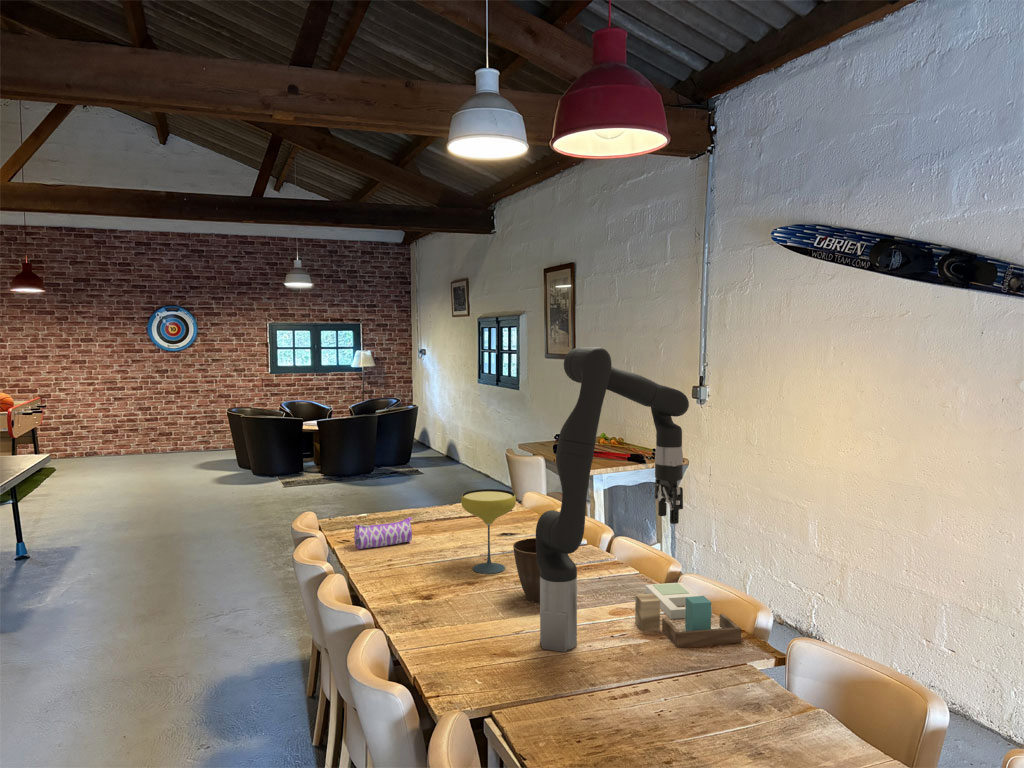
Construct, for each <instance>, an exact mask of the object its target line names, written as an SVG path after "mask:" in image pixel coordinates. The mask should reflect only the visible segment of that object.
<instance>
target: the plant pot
mask: <svg viewBox="0 0 1024 768" xmlns="http://www.w3.org/2000/svg"><path fill="white" fill-rule="evenodd" d="M512 548H513V554H514V560H515V561H514V562H515V566H516V570H517V574H518V575H517V576H518V578H519V582H520V585H521V588H522V590H523V593H524V596H525V599H526V600H527V601H529V602H531V603H534V604H535V603H538V604H540V569H539V567H538V564H537V556H536V537H535V538H534V537H533V538H532V537H531V538H524V539H519V540H517V541H515V543H513V545H512Z"/></svg>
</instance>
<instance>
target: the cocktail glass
mask: <svg viewBox="0 0 1024 768" xmlns="http://www.w3.org/2000/svg"><path fill="white" fill-rule="evenodd" d="M516 499H517V497H516V493H514V492H513V491H510V490H505V489H497V488H487V489H486V488H485V489H483V488H482V489H475V490H474V489H473V490H469V491H466V492H464V493H462V495H461V500H460V503H461V507H462V508H463V509H464V510H465V511H466V512H467V513H469V514H470V515H473V516H475V517H476V518H479V519H481V520H482V521H483V523H484V524H485V525H487V559H486V562H482V563H478V564H475V565H473V567H472V570H473V572H475V573H478V574H483V575H492V574H499V573H502V572H504V571H505V570H506V566H505V565H503V564H501V563H498V562H497V563H496V562H492V561H491V559H492V558H491V536H490V535H491V534H490V533H491V532H490V530H491V529H490V528H491V527H490V526H491V525H492V524H493V523H494V522H495V521H496V519H498V518H500V517H502V516H504V515H506V514H508V513H509V512H511V511H512V510H513V509H514V508H515V506H516V505H517V504H516V501H517V500H516Z"/></svg>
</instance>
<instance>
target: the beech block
mask: <svg viewBox="0 0 1024 768" xmlns="http://www.w3.org/2000/svg"><path fill="white" fill-rule="evenodd" d="M634 597H635V599H634V601H635V603H634V606H635V608H634V609H635V611H634V614H635V615H634V616H635V620H634V624H635V625H636V627H637V628H638V629H639V630H640V631H641V632H651V631H661V629H660V628H661V609H660V600H659V599H658V598H657V597H656V596H655V595H654V594H646V593H644V594H643V593H642V594H639V593H638V594H635V595H634Z"/></svg>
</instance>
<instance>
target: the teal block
mask: <svg viewBox="0 0 1024 768" xmlns="http://www.w3.org/2000/svg"><path fill="white" fill-rule="evenodd" d="M685 607H686V609H685V618H684V620H685V621H684V622H685V624H684V626H685V627H684V631H696V630H709V629H712V616H711V607H712V601H711V600H709V599H708V598H707V597H706V596H705V595H699V596H694V597H686V606H685Z"/></svg>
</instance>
